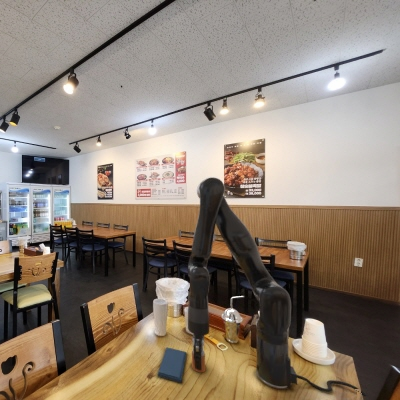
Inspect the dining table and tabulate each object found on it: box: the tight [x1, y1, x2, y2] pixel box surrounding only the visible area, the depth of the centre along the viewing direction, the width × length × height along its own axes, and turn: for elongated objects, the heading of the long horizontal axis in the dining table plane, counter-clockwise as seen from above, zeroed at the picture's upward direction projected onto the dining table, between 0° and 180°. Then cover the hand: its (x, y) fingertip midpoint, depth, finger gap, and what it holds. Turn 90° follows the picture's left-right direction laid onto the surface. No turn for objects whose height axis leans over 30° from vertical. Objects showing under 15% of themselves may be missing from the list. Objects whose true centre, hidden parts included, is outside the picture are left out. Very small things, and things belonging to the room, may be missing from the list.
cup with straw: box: [221, 295, 245, 344], centre depth 102 cm, size 8×9×20 cm
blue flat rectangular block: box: [157, 347, 187, 384], centre depth 86 cm, size 8×16×1 cm, turn 158°
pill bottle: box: [191, 350, 206, 373], centre depth 84 cm, size 5×5×6 cm
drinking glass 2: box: [152, 298, 169, 337], centre depth 107 cm, size 7×7×15 cm
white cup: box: [184, 306, 193, 336], centre depth 109 cm, size 8×8×10 cm
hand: (198, 364), depth 84 cm, fingers closed on pill bottle, 4 cm apart
